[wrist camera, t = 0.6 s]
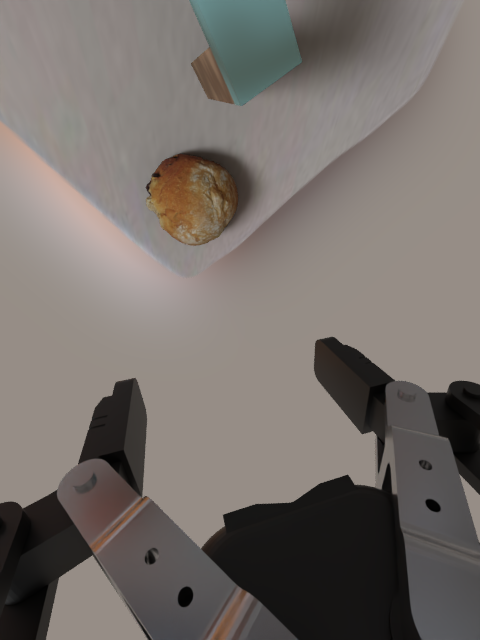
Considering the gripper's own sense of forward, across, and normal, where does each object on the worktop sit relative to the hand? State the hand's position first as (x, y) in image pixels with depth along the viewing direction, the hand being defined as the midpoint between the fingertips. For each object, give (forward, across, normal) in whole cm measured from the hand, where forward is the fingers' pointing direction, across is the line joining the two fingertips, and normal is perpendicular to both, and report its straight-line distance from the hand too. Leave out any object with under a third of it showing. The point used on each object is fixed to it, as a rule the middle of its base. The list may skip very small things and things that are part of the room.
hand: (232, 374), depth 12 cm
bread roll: (+28, -2, -6) cm, 29 cm away
